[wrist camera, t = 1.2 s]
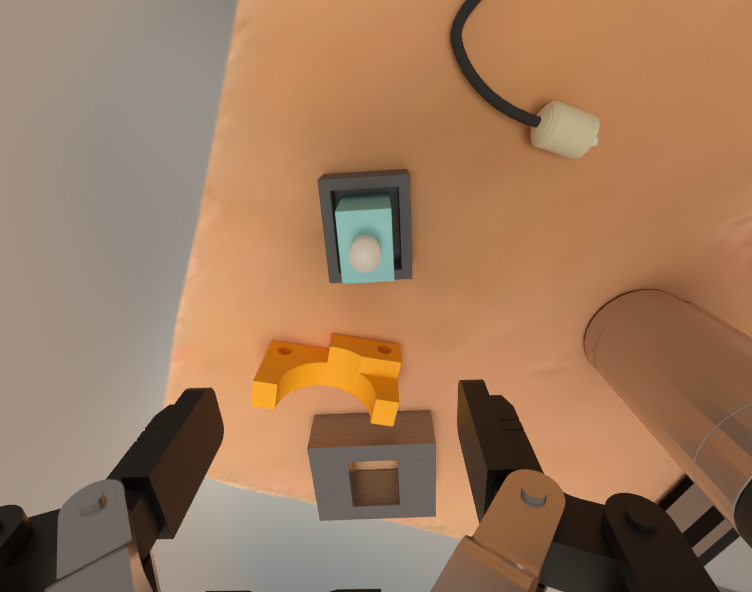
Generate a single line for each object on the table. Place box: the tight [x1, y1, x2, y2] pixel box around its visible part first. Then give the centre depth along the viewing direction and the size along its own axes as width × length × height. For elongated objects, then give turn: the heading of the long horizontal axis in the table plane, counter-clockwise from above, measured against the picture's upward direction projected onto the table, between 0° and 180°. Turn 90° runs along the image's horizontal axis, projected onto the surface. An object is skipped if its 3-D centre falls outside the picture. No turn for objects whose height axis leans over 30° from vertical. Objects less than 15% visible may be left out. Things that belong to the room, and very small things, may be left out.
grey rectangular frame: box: [318, 169, 412, 283], centre depth 31 cm, size 7×8×3 cm
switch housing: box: [307, 410, 436, 521], centre depth 41 cm, size 12×10×4 cm
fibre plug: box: [335, 191, 394, 284], centre depth 28 cm, size 4×5×8 cm
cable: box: [451, 0, 600, 159], centre depth 24 cm, size 16×16×4 cm
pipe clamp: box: [251, 334, 402, 426], centre depth 35 cm, size 12×4×6 cm, turn 80°
